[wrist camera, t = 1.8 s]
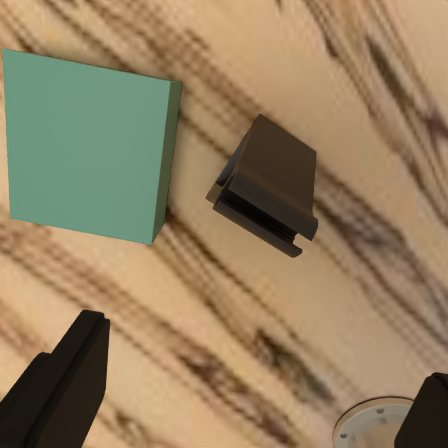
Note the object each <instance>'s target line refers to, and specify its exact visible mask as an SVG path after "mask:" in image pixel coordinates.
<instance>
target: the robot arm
mask: <svg viewBox="0 0 448 448" xmlns="http://www.w3.org/2000/svg"><path fill="white" fill-rule="evenodd" d="M109 330H110V320H109V319H105V318H104V313H102V312H96V311H90V310H85V309H84V310H82V312H81V313H80V314H79V316H78V317H77V318H76V320H75V321H74V322H73V324H72V325H71V327H70V328H69V329H68V331H67V332H66V334H65V335H64V336H63V338H62V339H61V341H60V342H59V343H58V345H57V346H56V347H55V349H54V350H53V352H52V353H51V354H50V353H45V352H41V353H40V354H38V355H37V356H36V357H35V358H34V359H33V361H32V362H31V363H30V365H29V366H28V367H27V369H26V370H25V371H24V372H23V374H22V375H21V376H20V378H19V379H18V380H17V382H16V383H15V384H14V385H13V387H12V388H11V389H10V391H9V392H8V393H7V395H6V396H5V397H4V398H3V400H2V401H1V402H0V448H81V447H82V445H83V443H84V441H85V438H86V436H87V434H88V432H89V429H90V427H91V425H92V423H93V421H94V418H95V416H96V414H97V412H98V409H99V407H100V405H101V403H102V400H103V397H104V394H105V390H106V377H107V361H108V346H109ZM333 443H334V447H335V448H448V374H444V373H438V372H435V373H433V374H432V375H431V376H428V377H427V378H426V379H425V381H424V383H423V385H422V386H421V388H420V390H419V392H418V394H417V396H416V398H415V400H414V401H411V400H407V399H402V398H382V399H376V400H372V401H368V402H365V403H363V404H360V405H358V406H356V407H355V408H353V409H351V410H350V411H349V412H347V413H346V414H345V415H344V416H343V417H342V418H341V419H340V421H339V422H338V424H337V426H336V428H335V430H334V435H333Z"/></svg>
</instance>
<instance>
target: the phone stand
mask: <svg viewBox="0 0 448 448" xmlns="http://www.w3.org/2000/svg"><path fill="white" fill-rule="evenodd" d="M315 164H316V151H314V150H313V149H311V148H310V147H308V146H307V145H305V144H304V143H302V142H301V141H299V140H298V139H296V138H295V137H294V136H292V135H291V134H289V133H288V132H286V131H285V130H283V129H282V128H280V127H279V126H277V125H276V124H274V123H273V122H271V121H270V120H268V119H267V118H265V117H264V116H263V115H261V114H259V115H258V117H257V118H256V120H255V121H254V123H253V125H252V126H251V128H250V129H249V131H248V132H247V134H246V135H245V137H244V139H243V140H242V142H241V143H240V145H239V146H238V148H237V149H236V151H235V153H234V154H233V156H232V157H231V159H230V160H229V162H228V163H227V165H226V167H225V168H224V170H223V171H222V173H221V174H220V176H219V177H218V179H217V181H216V182H215V184H214V185H213V187H212V188H211V190H210V191H209V193H208V195H207V196H206V198H205V199H207V200H208V201H210V202H212V203H213V204H214V206H213V210H215V211H216V212H218V213H220V214H221V215H223V216H225V217H226V218H228V219H230V220H231V221H233V222H234V223H236V224H238V225H239V226H241V227H243V228H244V229H246V230H247V231H249V232H251V233H252V234H254V235H256V236H257V237H259V238H261V239H262V240H264V241H265V242H267V243H269V244H270V245H272V246H274V247H275V248H277V249H278V250H280V251H282V252H283V253H285V254H287V255H288V256H290V257H292V258H294V257H297V256H298V255H300V254H301V253H302V249H301V248H299V247H297V246H296V245H294V244H293V240H294V239H295V235H296V234H298V233H299V234H300V235H302V236H304V237H305V238H307V239H308V240H310V241H312V239H313V238H314V236H315V233H316V231H317V228H318V219H317V218H315V217H314V215H313V212H312V207H313V193H314V178H315Z"/></svg>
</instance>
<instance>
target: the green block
mask: <svg viewBox="0 0 448 448" xmlns="http://www.w3.org/2000/svg"><path fill="white" fill-rule="evenodd" d="M2 51H3V72H4V93H5V114H6V136H7V157H8V178H9V199H10V218H11V219H16V220H22V221H27V222H32V223H37V224H43V225H48V226H53V227H58V228H64V229H69V230H74V231H80V232H85V233H90V234H95V235H101V236H106V237H111V238H116V239H122V240H127V241H132V242H138V243H143V244H148V245H152V243H153V242H154V240H155V238H156V236H157V235H158V233H159V231H160V230H161V228H162V226H163V225H164V220H165V213H166V205H167V197H168V189H169V182H170V174H171V166H172V158H173V150H174V143H175V135H176V127H177V119H178V111H179V104H180V96H181V88H182V82H177V81H172V80H167V79H162V78H157V77H152V76H147V75H142V74H137V73H132V72H127V71H121V70H116V69H111V68H106V67H101V66H96V65H91V64H86V63H81V62H76V61H71V60H66V59H61V58H55V57H50V56H45V55H40V54H34V53H28V52H21V51H15V50H9V49H3V48H2Z"/></svg>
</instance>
